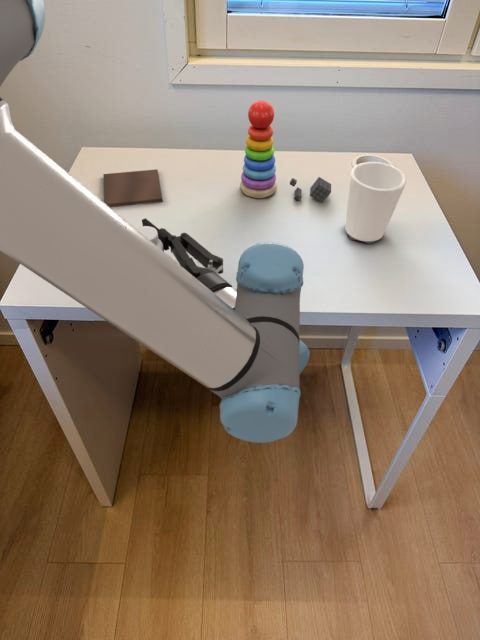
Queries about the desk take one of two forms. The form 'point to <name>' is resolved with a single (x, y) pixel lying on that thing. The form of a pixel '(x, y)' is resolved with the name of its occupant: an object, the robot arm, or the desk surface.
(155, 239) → the pill bottle
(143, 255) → the robot arm
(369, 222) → the cup
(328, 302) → the desk surface
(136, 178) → the coaster
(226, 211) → the desk surface
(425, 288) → the desk surface
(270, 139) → the stacking toy
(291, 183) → the building blocks
